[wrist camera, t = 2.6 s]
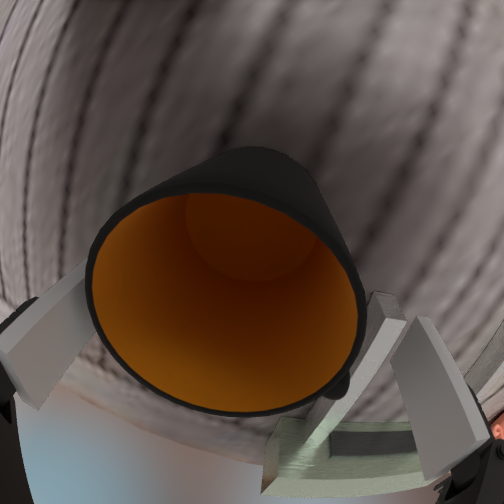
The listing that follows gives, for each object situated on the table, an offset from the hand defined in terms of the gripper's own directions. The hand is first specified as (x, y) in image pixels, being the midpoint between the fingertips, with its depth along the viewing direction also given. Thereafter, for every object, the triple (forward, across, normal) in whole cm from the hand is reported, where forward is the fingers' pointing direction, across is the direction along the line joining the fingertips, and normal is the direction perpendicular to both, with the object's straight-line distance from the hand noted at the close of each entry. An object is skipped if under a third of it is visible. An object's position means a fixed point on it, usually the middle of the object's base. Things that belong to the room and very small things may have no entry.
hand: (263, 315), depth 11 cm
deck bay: (+7, +16, -13) cm, 22 cm away
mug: (+7, 0, +1) cm, 7 cm away
